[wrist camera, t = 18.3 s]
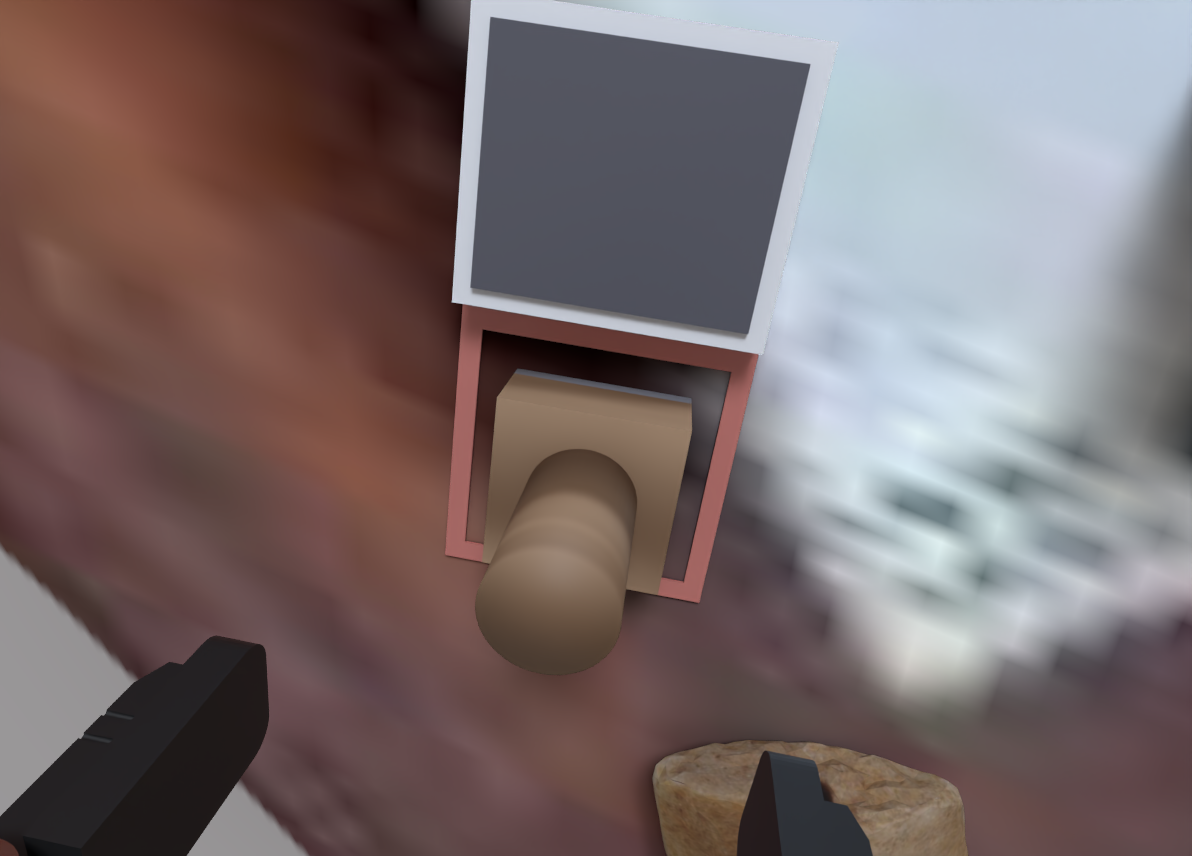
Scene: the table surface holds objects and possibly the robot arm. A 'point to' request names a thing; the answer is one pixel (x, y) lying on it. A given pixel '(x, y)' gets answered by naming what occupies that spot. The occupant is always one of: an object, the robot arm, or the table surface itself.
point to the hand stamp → (576, 514)
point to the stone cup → (862, 782)
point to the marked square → (612, 341)
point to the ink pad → (633, 168)
